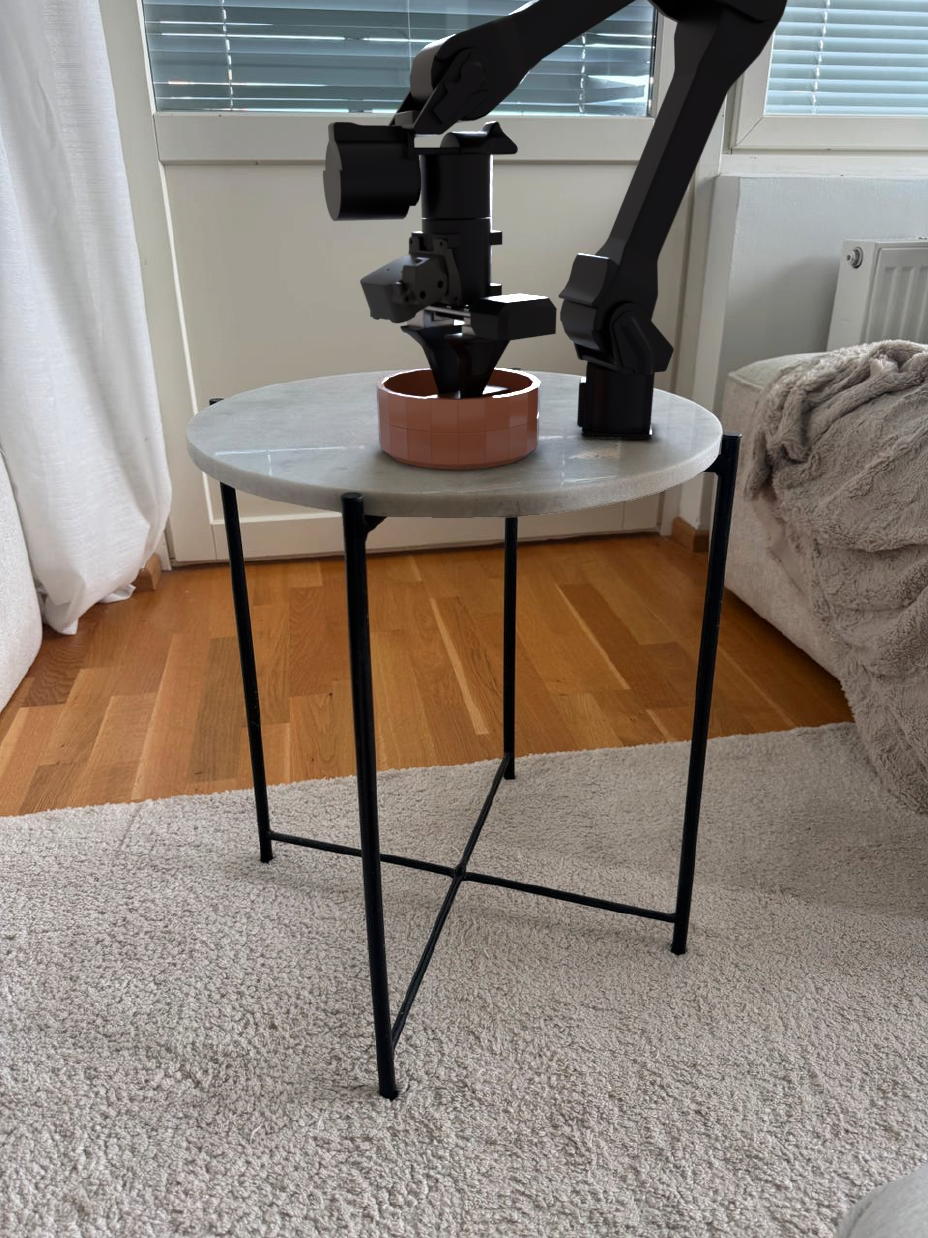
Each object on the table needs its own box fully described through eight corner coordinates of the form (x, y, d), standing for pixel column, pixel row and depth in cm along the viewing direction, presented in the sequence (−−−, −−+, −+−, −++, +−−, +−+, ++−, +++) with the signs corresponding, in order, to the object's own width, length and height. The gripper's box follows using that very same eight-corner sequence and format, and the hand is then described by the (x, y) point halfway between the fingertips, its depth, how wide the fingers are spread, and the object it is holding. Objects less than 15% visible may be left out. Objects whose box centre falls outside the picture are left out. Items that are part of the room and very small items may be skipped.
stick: (492, 410, 85) (492, 384, 84) (509, 415, 83) (509, 388, 82) (404, 428, 79) (403, 400, 78) (421, 433, 78) (420, 405, 77)
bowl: (543, 431, 88) (545, 367, 85) (530, 475, 75) (532, 402, 73) (399, 426, 90) (396, 364, 87) (362, 468, 77) (358, 397, 75)
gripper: (311, 218, 76) (325, 405, 83) (449, 226, 63) (452, 448, 70) (419, 214, 82) (423, 388, 89) (564, 220, 69) (557, 424, 76)
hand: (458, 410), depth 81 cm, fingers closed on stick, 2 cm apart
